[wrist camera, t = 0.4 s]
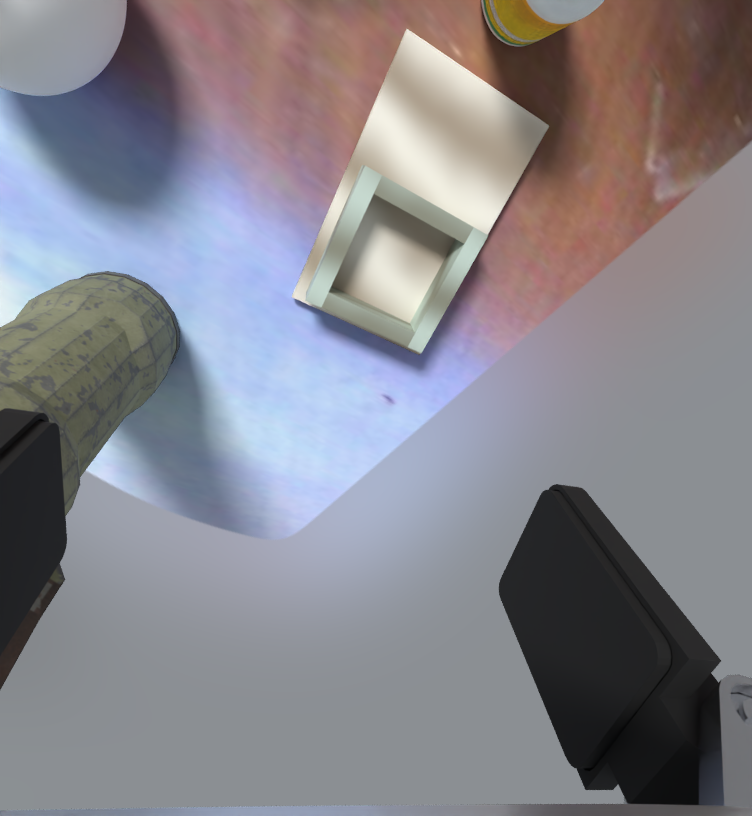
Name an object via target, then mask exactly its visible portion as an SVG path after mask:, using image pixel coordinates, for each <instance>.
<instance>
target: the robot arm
mask: <svg viewBox="0 0 752 816" xmlns="http://www.w3.org/2000/svg"><path fill="white" fill-rule="evenodd" d="M65 520H66V519H65V504H64V489H63V474H62V459H61V444H60V431H59V427H58V425H57V424H56V423H52V422H49V418H48V416H47V415H46V414H44V413H40V412H33V411H26V410H19V409H11V408H4V409H3V410H1V411H0V656H1V654H2V652H3V651H4V649H5V648H6V646H7V645H8V643H9V641H10V640H11V638H12V637H13V635H14V634H15V632H16V630H17V629H18V627H19V626H20V624H21V623H22V621H23V620H24V618H25V616H26V615H27V613H28V612H29V610H30V609H31V607H32V605H33V604H34V602H35V601H36V599H37V598H38V596H39V594H40V593H41V591H42V590H43V588H44V587H45V585H46V583H47V582H48V580H49V579H50V577H51V576H52V574H53V572H54V571H55V569H56V568H57V566H58V565H59V563H60V561H61V559H62V557H63V555H64V552H65V549H66V544H67V534H66V521H65ZM499 595H500V598H501V601H502V603H503V606H504V608H505V611H506V613H507V615H508V618H509V620H510V623H511V625H512V628H513V630H514V632H515V635H516V637H517V640H518V642H519V644H520V647H521V649H522V652H523V654H524V657H525V659H526V662H527V664H528V666H529V669H530V671H531V674H532V676H533V678H534V681H535V683H536V685H537V688H538V691H539V693H540V696H541V698H542V700H543V703H544V705H545V707H546V710H547V713H548V715H549V717H550V720H551V722H552V725H553V727H554V730H555V732H556V734H557V737H558V739H559V742H560V744H561V746H562V749H563V751H564V754H565V756H566V758H567V760H568V762H569V763H570V764H571V766H573V767H574V768H577V771H578V773H579V776H580V778H581V780H582V783H583V785H584V787H585V789H586V790H613V789H614V788H615V787H616V786H617V785H618V784H619V786H620V788H621V791H622V793H623V795H624V797H625V798H624V804H496V805H495V804H491V805H490V804H485V805H484V804H482V805H481V804H479V805H477V804H476V805H362V806H361V805H360V806H267V807H265V806H262V807H260V806H258V807H189V808H188V807H187V808H127V809H126V808H121V809H55V810H54V809H51V810H2V811H0V816H752V678H749V677H746V676H741V675H727V676H726V677H724V678H723V679H722V680H721V681H720V682H719V683H718V682H717V680H716V679H715V678H714V676H713V675H712V674H711V672H712V671H713V670H714V669H715V668H716V666H717V665H718V664H719V663H720V662H721V660H720V659H719V658H718V656H717V655H716V654H715V652H713V650H712V649H711V648H710V646H709V645H708V644H707V643H706V641H705V640H704V639H703V637H702V636H701V635H700V634H699V632H698V631H697V630H696V629H695V627H694V626H693V625H692V624H691V622H690V621H689V620H688V619H687V617H686V616H685V615H684V614H683V612H682V611H681V610H680V609H679V607H678V606H677V605H676V604H675V602H674V601H673V600H672V599H671V598H670V596H669V595H668V594H667V592H666V591H665V590H664V589H663V587H662V586H661V585H660V584H659V582H658V581H657V580H656V579H655V577H654V576H653V575H652V574H651V572H650V571H649V570H648V569H647V567H646V566H645V565H644V564H643V562H642V561H641V560H640V559H639V557H638V556H637V555H636V554H635V552H634V551H633V550H632V549H631V547H630V546H629V545H628V544H627V542H626V541H625V540H624V539H623V537H622V536H621V535H620V533H619V532H618V531H617V530H616V529H615V527H614V526H613V525H612V523H611V522H610V521H609V520H608V519H607V517H606V516H605V515H604V514H603V512H602V511H601V510H600V508H599V507H598V506H597V505H596V503H595V502H594V501H593V500H592V498H591V497H590V496H589V495H588V493H587V492H586V491H585V490H583V489H582V488H579V487H571V486H565V485H558V484H556V485H553V486H551V487H550V488H549V490H545V491H543V492H542V494H541V495H540V497H539V500H538V502H537V504H536V506H535V508H534V510H533V512H532V514H531V516H530V518H529V521H528V523H527V525H526V527H525V529H524V531H523V533H522V535H521V537H520V539H519V542H518V544H517V546H516V548H515V550H514V552H513V554H512V556H511V558H510V560H509V563H508V565H507V567H506V569H505V571H504V573H503V575H502V577H501V580H500V583H499Z"/></svg>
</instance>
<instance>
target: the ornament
mask: <svg viewBox="0 0 752 816" xmlns="http://www.w3.org/2000/svg"><path fill="white" fill-rule="evenodd" d="M126 11H127V0H0V87H1V88H3V89H6V90H9V91H13V92H17V93H21V94H26V95H34V96H52V95H59V94H64V93H67V92H70V91H73V90H75V89H78V88H80V87H82V86H84V85H85V84H87V83H88V82H90V81H91V80H93V79H94V78H95V77H96V76H97V75H99V74H100V73H101V72H102V71H103V69H104V68H105V67H106V66H107V65H108V63H109V62H110V60H111V59H112V57H113V56H114V54H115V52H116V50H117V48H118V46H119V43H120V40H121V37H122V34H123V30H124V26H125V20H126Z"/></svg>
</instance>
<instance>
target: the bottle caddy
mask: <svg viewBox="0 0 752 816" xmlns="http://www.w3.org/2000/svg"><path fill="white" fill-rule="evenodd" d="M548 127H549V125H547V124H546V123H544V122H543V121H542V120H540V119H539V118H537V117H536V116H534V115H533V114H531V113H530V112H528V111H527V110H525V109H524V108H522V107H521V106H520V105H518V104H517V103H515V102H514V101H512V100H511V99H509V98H508V97H506V96H505V95H503V94H502V93H500V92H499V91H498V90H496V89H495V88H493V87H492V86H490V85H489V84H487V83H486V82H484V81H483V80H481V79H480V78H478V77H477V76H475V75H474V74H473V73H471V72H470V71H468V70H467V69H465V68H464V67H462V66H461V65H459V64H458V63H456V62H455V61H453V60H452V59H451V58H449V57H448V56H446V55H445V54H443V53H442V52H440V51H439V50H437V49H436V48H434V47H433V46H431V45H430V44H429V43H427V42H426V41H424V40H423V39H421V38H420V37H418V36H417V35H415V34H414V33H412V32H411V31H409V30H408V29H407V30H406V31H405V33H404V35H403V38H402V40H401V42H400V45H399V47H398V49H397V52H396V54H395V56H394V59H393V61H392V63H391V66H390V68H389V70H388V73H387V75H386V77H385V80H384V82H383V84H382V87H381V89H380V91H379V94H378V96H377V98H376V101H375V103H374V105H373V108H372V110H371V112H370V115H369V117H368V119H367V122H366V124H365V126H364V129H363V131H362V133H361V136H360V138H359V140H358V143H357V145H356V147H355V150H354V152H353V154H352V157H351V159H350V161H349V164H348V166H347V168H346V171H345V173H344V175H343V178H342V180H341V182H340V185H339V187H338V189H337V192H336V194H335V196H334V199H333V201H332V203H331V206H330V208H329V210H328V213H327V215H326V217H325V220H324V222H323V224H322V227H321V229H320V231H319V234H318V236H317V238H316V241H315V243H314V245H313V248H312V250H311V252H310V255H309V257H308V259H307V262H306V264H305V266H304V269H303V271H302V273H301V276H300V278H299V280H298V283H297V285H296V287H295V290H294V292H293V294H292V297H293V298H295V299H297V300H299V301H301V302H304V303H306V304H308V305H310V306H312V307H315V308H317V309H319V310H321V311H323V312H326V313H328V314H330V315H332V316H334V317H337V318H339V319H341V320H343V321H345V322H348V323H350V324H352V325H354V326H356V327H359V328H361V329H363V330H365V331H368V332H370V333H372V334H374V335H376V336H379V337H381V338H383V339H385V340H387V341H390V342H392V343H394V344H396V345H398V346H401V347H403V348H405V349H407V350H409V351H412V352H414V353H416V354H418V355H420V353H422V351H423V350H424V348H425V346H426V344H427V343H428V341H429V339H430V337H431V336H432V334H433V332H434V330H435V329H436V327H437V325H438V323H439V321H440V320H441V318H442V316H443V314H444V313H445V311H446V309H447V307H448V306H449V304H450V302H451V300H452V299H453V297H454V295H455V293H456V292H457V290H458V288H459V286H460V284H461V283H462V281H463V279H464V277H465V276H466V274H467V272H468V270H469V269H470V267H471V265H472V263H473V262H474V260H475V258H476V256H477V255H478V253H479V251H480V249H481V248H482V246H483V244H484V242H485V240H486V239H487V237H488V233H489V231H490V230H491V228H492V226H493V224H494V223H495V221H496V219H497V217H498V216H499V214H500V212H501V210H502V208H503V207H504V205H505V203H506V201H507V200H508V198H509V196H510V194H511V193H512V191H513V189H514V187H515V186H516V184H517V182H518V180H519V179H520V177H521V175H522V173H523V171H524V170H525V168H526V166H527V164H528V163H529V161H530V159H531V157H532V156H533V154H534V152H535V150H536V149H537V147H538V145H539V143H540V141H541V140H542V138H543V136H544V134H545V133H546V131H547V129H548Z"/></svg>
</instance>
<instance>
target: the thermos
mask: <svg viewBox="0 0 752 816" xmlns="http://www.w3.org/2000/svg"><path fill="white" fill-rule="evenodd" d="M179 332H180V330H179V327H178V324H177V321H176V318H175V315H174V312H173V311H172V309H171V308H170V306H169V305H168V304H167V302H166V301H165V299H164V298H163V297H162V296H161V295H160V294H159V293H158V292H156V291H155V290H154V289H153V288H152V287H150V286H149V285H148V284H147V283H145V282H143V281H140V280H138V279H136V278H134V277H132V276H130V275H127V274H121V273H115V272H109V271H105V272H98V273H91V274H87V275H85V276H83V277H81V278H79V279H74V280H69V281H67V282H65V283H63V284H61V285H59V286H57V287H55V288H53V289H51V290H49V291H46V292H44V293H42V294H40V295H38V296H37V297H35V298H33V299H32V300H30V301H29V302H28V303H27V304H26V305H25V307H24V308H23V309H22V310H21V312H20V313H19V314H18V315H17V317H16V319H15V320H13V321H12V322H10V323H8V324H6V325H4V326H2V327H0V411H1V410H3V409H4V408H11V409H19V410H26V411H33V412H40V413H44V414H46V415H47V416H48V418H49V422H52V423H56V424H57V425H58V427H59V431H60V444H61V459H62V474H63V489H64V504H65V516H66V515H67V513H68V512H69V510H70V509H71V507H72V505H73V503H74V500H75V497H76V494H77V491H78V488H79V486H80V477H81V475H82V474H83V473H84V471H85V470H86V469H87V467H88V466H89V465H90V463H91V462H92V461H93V459H94V458H95V457H96V455H97V454H98V453H99V451H100V450H101V449H102V447H103V446H104V445H105V443H106V442H107V441H108V439H109V438H110V437H111V435H112V434H113V433H114V431H115V430H116V429H117V427H118V426H119V425H120V423H121V422H122V420H123V419H124V418H125V417H126V416H127V415H129V414H130V413H131V412H133V411H134V410H136V409H137V408H139V407H140V406H142V405H143V404H144V403H145V401H146V400H147V399H148V398H149V397H150V396H151V395H152V394H153V393H154V392H155V391H156V389H157V388H158V386H159V385H160V383H161V382H162V381H163V379H164V378H165V376H166V374H167V372H168V369H169V367H170V365H171V364H172V362H173V361H174V358H175V356H176V353H177V351H178V348H179ZM64 580H65V578H64V575H63V572H62V569H61V566H60V563H59V565H58V566H57V568H56V569H55V571H54V572H53V574H52V576H51V577H50V579H49V580H48V582H47V583H46V585H45V587H44V588H43V590H42V591H41V593H40V594H39V596H38V598H37V599H36V601H35V602H34V604H33V605H32V607H31V609H30V610H29V612H28V613H27V615H26V616H25V618H24V620H23V621H22V623H21V624H20V626H19V627H18V629H17V630H16V632H15V634H14V635H13V637H12V638H11V640H10V641H9V643H8V645H7V646H6V648H5V649H4V651H3V652H2V654H1V656H0V689H1V688H2V686H3V684H4V682H5V680H6V679H7V677H8V675H9V673H10V671H11V669H12V668H13V666H14V664H15V662H16V661H17V659H18V657H19V655H20V653H21V652H22V650H23V648H24V646H25V644H26V643H27V641H28V639H29V637H30V635H31V633H32V632H33V630H34V628H35V627H36V624H37V623H38V621H39V619H40V618H41V616H42V615H43V613H44V611H45V610H46V608H47V607H48V605H49V604H50V602H51V601H52V599H53V598H54V596H55V594H56V593H57V591H58V590H59V588H60V587H61V585H62V584H63V582H64Z"/></svg>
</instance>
